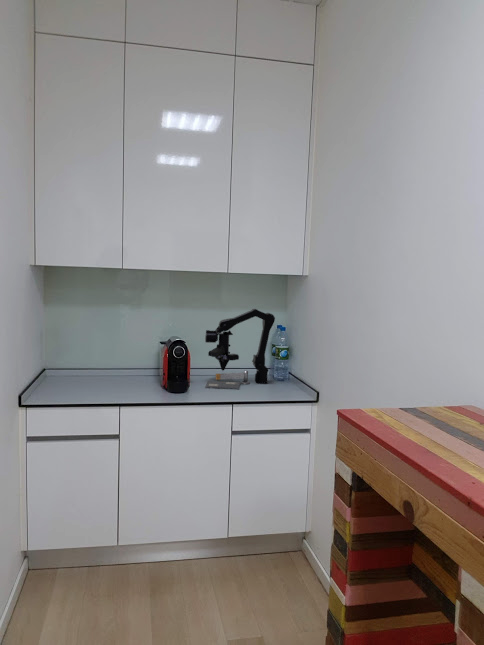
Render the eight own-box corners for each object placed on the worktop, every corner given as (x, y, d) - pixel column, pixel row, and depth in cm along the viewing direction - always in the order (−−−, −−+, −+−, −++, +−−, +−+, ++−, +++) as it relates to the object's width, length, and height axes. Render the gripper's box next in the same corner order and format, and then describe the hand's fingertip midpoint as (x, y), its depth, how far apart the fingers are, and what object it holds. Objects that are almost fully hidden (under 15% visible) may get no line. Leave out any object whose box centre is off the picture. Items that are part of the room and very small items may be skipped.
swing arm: (246, 381, 281) (247, 370, 280) (248, 382, 279) (248, 371, 278) (215, 383, 273) (215, 372, 273) (216, 384, 271) (217, 373, 271)
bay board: (240, 383, 278) (240, 381, 278) (239, 389, 265) (239, 387, 264) (207, 381, 279) (207, 380, 279) (205, 387, 265) (205, 386, 265)
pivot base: (249, 382, 282) (250, 381, 282) (249, 384, 277) (249, 383, 277) (241, 382, 282) (241, 381, 282) (240, 384, 277) (240, 383, 277)
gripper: (201, 341, 277) (200, 369, 279) (225, 346, 265) (224, 375, 267) (215, 340, 286) (214, 366, 287) (239, 344, 273) (238, 372, 275)
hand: (222, 370), depth 279 cm, fingers closed
